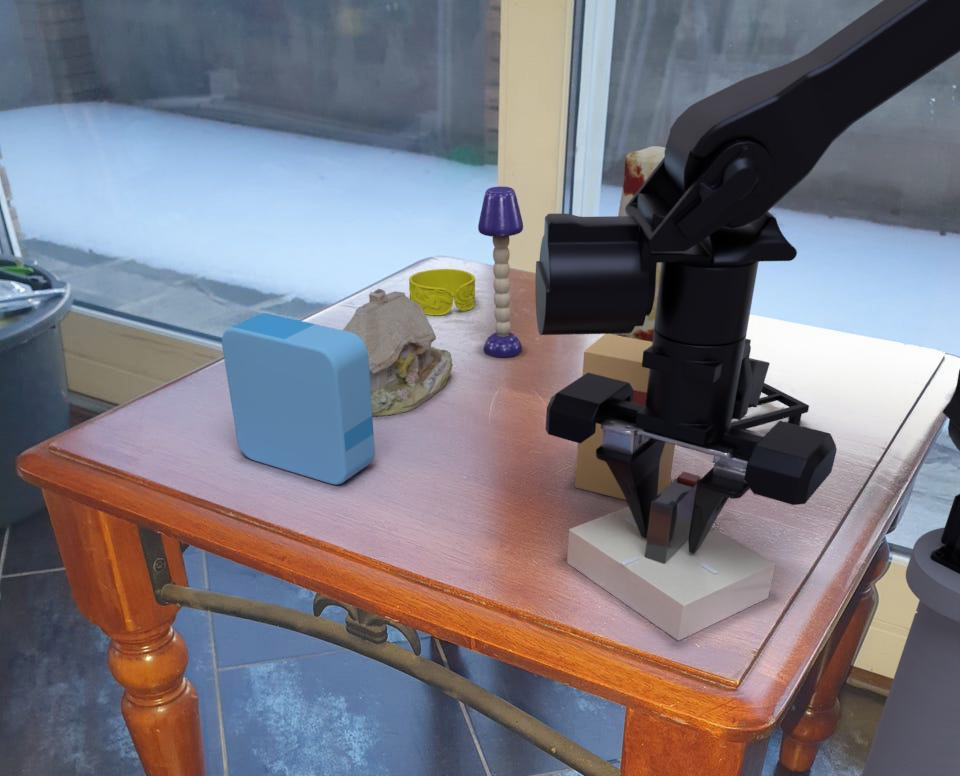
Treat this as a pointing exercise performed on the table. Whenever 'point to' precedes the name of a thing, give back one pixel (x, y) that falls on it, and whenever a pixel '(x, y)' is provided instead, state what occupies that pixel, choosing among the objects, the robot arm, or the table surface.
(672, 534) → the gray box
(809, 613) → the table surface
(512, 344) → the toy lamp
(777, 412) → the bed frame
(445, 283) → the bracelet
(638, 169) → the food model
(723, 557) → the light grey block
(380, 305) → the ceramic model
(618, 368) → the packet
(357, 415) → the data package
